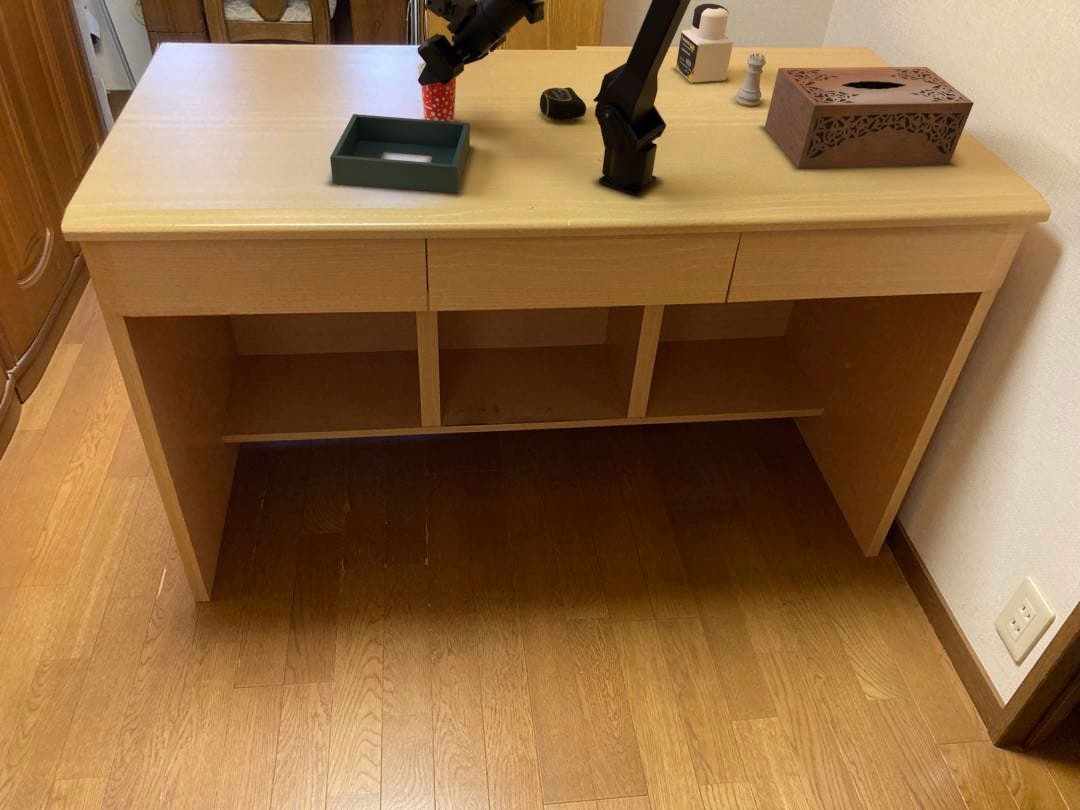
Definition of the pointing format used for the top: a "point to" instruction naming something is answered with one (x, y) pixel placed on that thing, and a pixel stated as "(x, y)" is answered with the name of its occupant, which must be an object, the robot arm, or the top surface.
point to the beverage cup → (438, 99)
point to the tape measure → (562, 104)
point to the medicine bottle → (705, 45)
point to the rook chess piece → (751, 82)
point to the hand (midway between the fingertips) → (430, 76)
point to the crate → (377, 134)
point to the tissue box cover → (866, 116)
